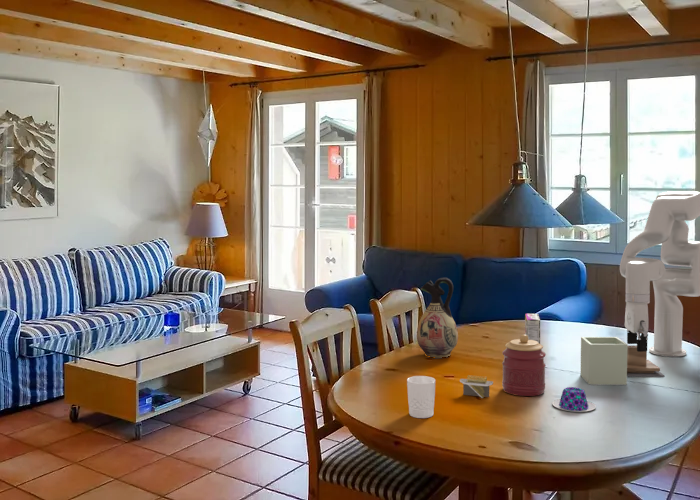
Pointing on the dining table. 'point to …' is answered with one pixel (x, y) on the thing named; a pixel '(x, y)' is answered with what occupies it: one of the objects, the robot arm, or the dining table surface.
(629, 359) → the lid
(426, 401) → the white cup
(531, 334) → the candy bar box
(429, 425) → the dining table surface
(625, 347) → the box
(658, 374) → the mat
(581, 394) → the pudding
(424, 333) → the ceramic jug
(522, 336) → the canister
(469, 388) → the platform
